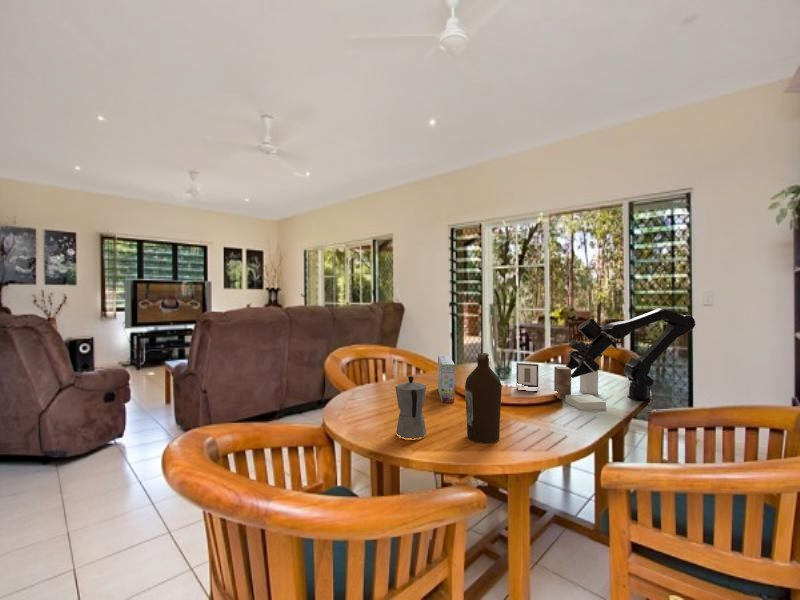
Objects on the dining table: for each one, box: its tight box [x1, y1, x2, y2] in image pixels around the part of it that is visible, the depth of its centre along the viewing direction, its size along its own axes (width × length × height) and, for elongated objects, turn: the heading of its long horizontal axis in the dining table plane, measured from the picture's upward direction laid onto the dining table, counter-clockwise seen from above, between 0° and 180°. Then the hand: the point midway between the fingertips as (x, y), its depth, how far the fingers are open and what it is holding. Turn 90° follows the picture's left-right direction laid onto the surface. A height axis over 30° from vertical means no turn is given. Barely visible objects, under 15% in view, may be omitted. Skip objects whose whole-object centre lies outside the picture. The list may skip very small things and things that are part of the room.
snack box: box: [437, 355, 456, 403], centre depth 161 cm, size 21×6×15 cm, turn 179°
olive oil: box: [464, 352, 503, 444], centre depth 115 cm, size 11×11×25 cm
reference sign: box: [516, 362, 539, 388], centre depth 169 cm, size 6×9×11 cm, turn 71°
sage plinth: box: [565, 393, 607, 411], centre depth 146 cm, size 10×10×3 cm
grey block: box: [579, 369, 599, 395], centre depth 164 cm, size 5×5×12 cm
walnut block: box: [553, 365, 572, 400], centre depth 157 cm, size 5×5×12 cm
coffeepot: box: [394, 375, 427, 439], centre depth 116 cm, size 15×9×18 cm, turn 6°
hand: (567, 374), depth 156 cm, fingers open, 9 cm apart
